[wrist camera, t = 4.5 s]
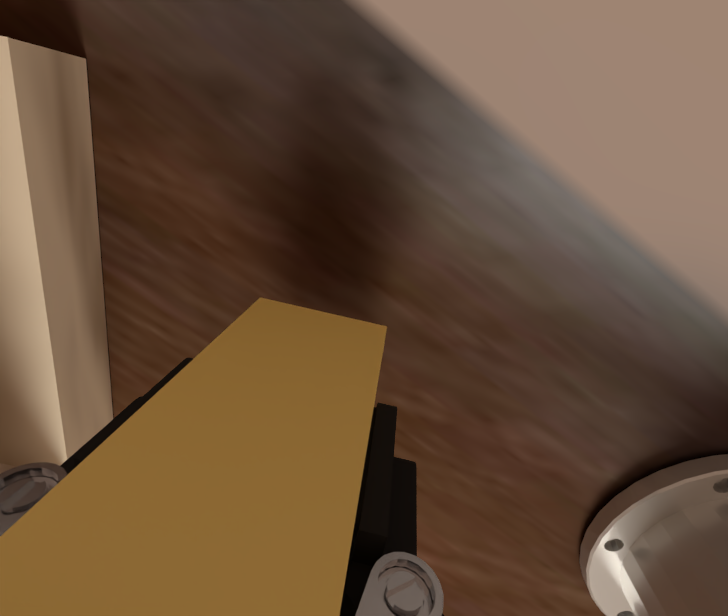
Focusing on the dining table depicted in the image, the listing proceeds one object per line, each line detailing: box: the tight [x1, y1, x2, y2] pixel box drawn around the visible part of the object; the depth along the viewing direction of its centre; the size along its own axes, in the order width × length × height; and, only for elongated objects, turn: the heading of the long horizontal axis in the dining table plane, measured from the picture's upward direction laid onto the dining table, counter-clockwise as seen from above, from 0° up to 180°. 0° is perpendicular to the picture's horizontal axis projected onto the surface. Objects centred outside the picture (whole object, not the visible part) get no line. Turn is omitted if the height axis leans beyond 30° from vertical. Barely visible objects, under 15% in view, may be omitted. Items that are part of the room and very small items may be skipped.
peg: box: [0, 297, 387, 616], centre depth 9 cm, size 4×4×12 cm
